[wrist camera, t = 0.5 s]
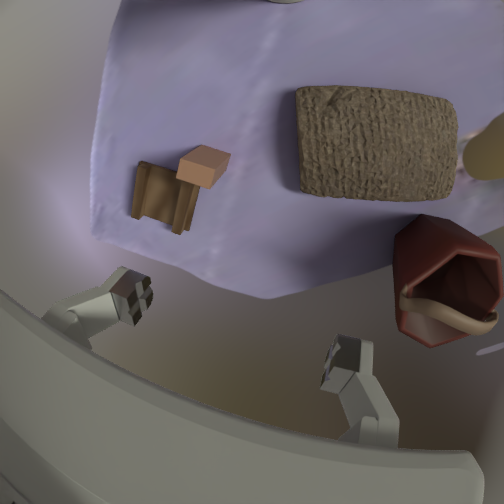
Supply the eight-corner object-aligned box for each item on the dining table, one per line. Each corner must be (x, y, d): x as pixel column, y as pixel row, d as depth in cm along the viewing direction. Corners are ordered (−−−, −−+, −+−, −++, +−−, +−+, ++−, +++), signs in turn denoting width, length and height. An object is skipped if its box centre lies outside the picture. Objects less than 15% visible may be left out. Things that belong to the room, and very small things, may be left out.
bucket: (356, 254, 61) (375, 343, 40) (420, 174, 49) (483, 235, 28) (425, 301, 64) (454, 382, 43) (484, 238, 52) (538, 307, 31)
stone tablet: (448, 97, 40) (293, 85, 45) (469, 101, 33) (293, 85, 39) (441, 193, 51) (300, 190, 56) (458, 210, 44) (300, 207, 49)
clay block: (197, 161, 55) (175, 178, 46) (201, 144, 54) (180, 158, 44) (225, 170, 56) (209, 189, 46) (231, 154, 54) (215, 169, 45)
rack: (134, 209, 63) (127, 215, 61) (141, 160, 57) (133, 165, 54) (189, 229, 64) (184, 236, 61) (201, 180, 57) (196, 185, 55)
